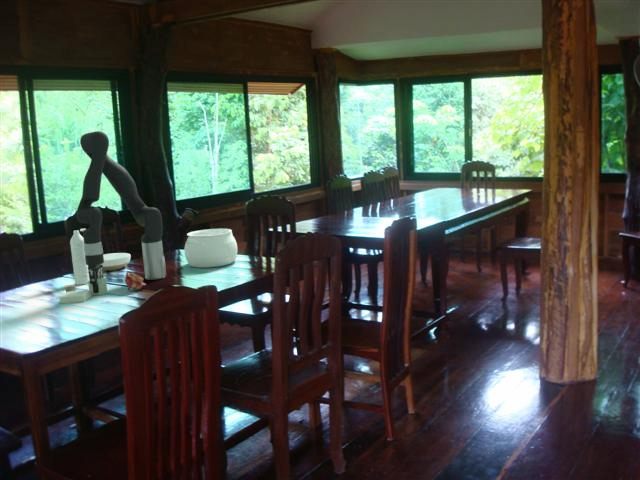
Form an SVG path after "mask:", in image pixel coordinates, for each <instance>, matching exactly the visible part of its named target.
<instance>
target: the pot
mask: <svg viewBox="0 0 640 480" xmlns="http://www.w3.org/2000/svg"><path fill="white" fill-rule="evenodd" d="M186 236H188V237H187V239H186V241H185V245H184V257H185V261H186V262H187V264H188V265H190V267H193V268H198V269H199V268H200V269H202V268H203V269H204V268H205V269H207V268H209V269H211V268H218V267H224V266H228V265H230V264H233V263H234V262H235V261H236V259H237V256H238V244H237V241H236V238H235V236H234V235H233V230H232V229H230V228H209V229H200V230H195V231H194V230H193V231H190V232H188V233H187V234H186Z"/></svg>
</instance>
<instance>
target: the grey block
mask: <svg viewBox="0 0 640 480" xmlns="http://www.w3.org/2000/svg"><path fill="white" fill-rule="evenodd" d="M64 288H65V289H64V290H65V293H66V292H69V291H77V287H76V284H75V283H74V284H66V285H65V287H64Z"/></svg>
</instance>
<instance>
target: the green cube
mask: <svg viewBox="0 0 640 480" xmlns="http://www.w3.org/2000/svg"><path fill="white" fill-rule="evenodd" d="M93 281H95V280H93ZM87 284H88V290H91V295H92V296H97V295H98V296H99V295H104V294H106V293H107V292H108V285H107V278H106V277H103V278H99V279H98V288H99V292H98V293H93V285H92V284H90V281H88V283H87Z"/></svg>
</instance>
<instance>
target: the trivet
mask: <svg viewBox="0 0 640 480" xmlns="http://www.w3.org/2000/svg"><path fill="white" fill-rule="evenodd" d="M92 296H93V295H91V290H89V289H85V290H84V289H83V290H76V291H69V292H66V291H65V293H63V294H62V295H61V296H59V304H67V303H69V304H70V303H71V304H72V303H84V302H86V301H88V299H90V298H91V297H92Z"/></svg>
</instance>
